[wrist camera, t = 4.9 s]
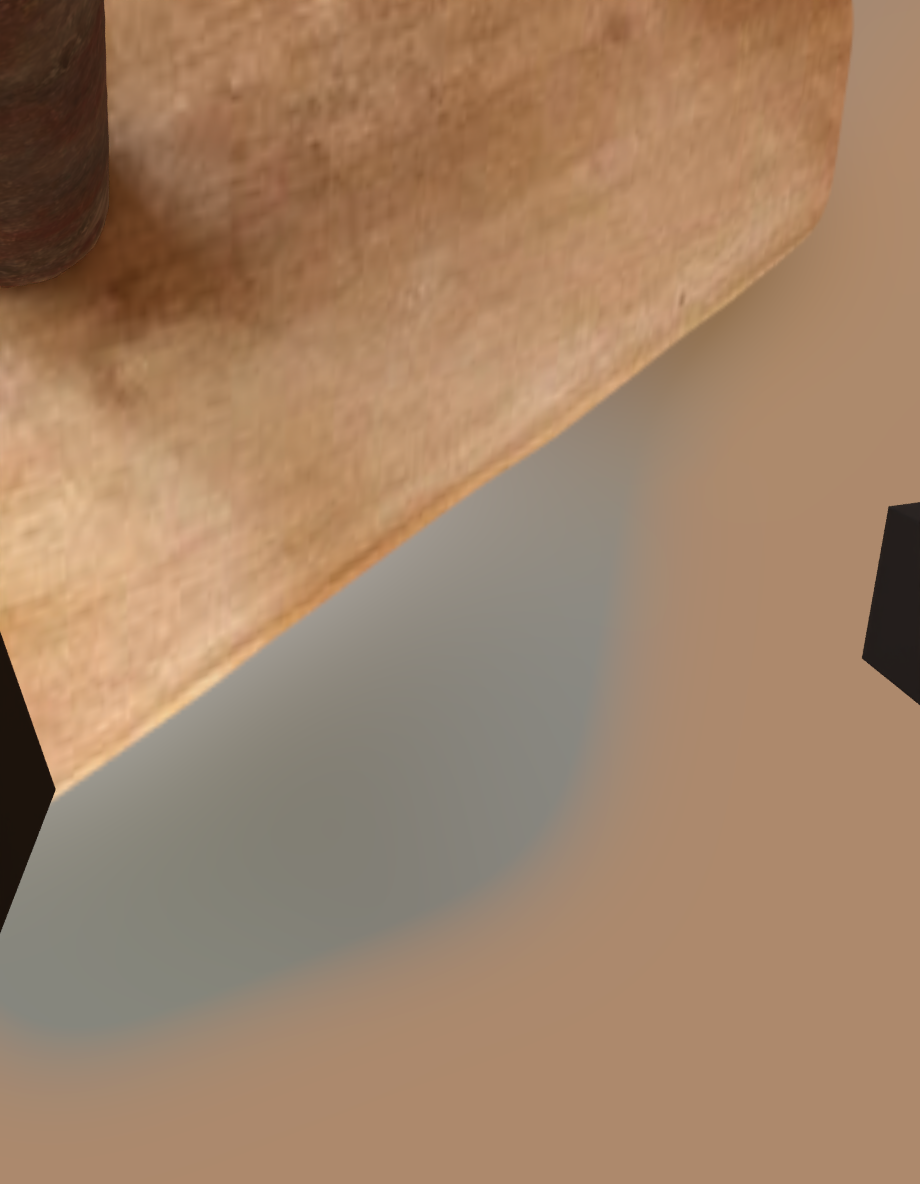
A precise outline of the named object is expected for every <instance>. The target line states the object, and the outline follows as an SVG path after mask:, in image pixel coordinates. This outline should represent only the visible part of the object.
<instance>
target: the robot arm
mask: <svg viewBox="0 0 920 1184" xmlns="http://www.w3.org/2000/svg"><path fill="white" fill-rule="evenodd" d="M862 659H863V660H865V661H866V662H867V663H868V664H870V665H871V666H872V667H873V668H874V669H876V670H877V671H878V672H880V673H881V674H882V675H883V676H884V677H886V678H887V679H888V680H889V681H891V682H892V683H893V684H895V685H896V686H897V687H898V688H899V689H901V690H902V691H903V692H904V693H905V694H907V695H908V696H909V697H910V698H912V699H913V700H914V701H915V702H917V703H918V704H919V705H920V502H918V503H911V504H903V505H897V506H889V507H888V513H887V519H886V525H885V530H884V536H883V542H882V547H881V553H880V559H879V564H878V570H877V576H876V581H875V587H874V593H873V598H872V604H871V610H870V616H869V621H868V627H867V632H866V638H865V644H864V649H863V655H862ZM55 790H56V789H55V786H54V783H53V781H52V778H51V775H50V772H49V769H48V766H47V763H46V761H45V758H44V755H43V752H42V749H41V746H40V744H39V741H38V738H37V735H36V732H35V729H34V726H33V724H32V721H31V718H30V715H29V712H28V709H27V707H26V704H25V701H24V698H23V695H22V692H21V689H20V687H19V684H18V681H17V678H16V675H15V672H14V670H13V667H12V664H11V661H10V658H9V655H8V652H7V650H6V647H5V644H4V641H3V638H2V635H1V633H0V932H1V930H2V927H3V925H4V922H5V919H6V917H7V914H8V912H9V909H10V906H11V904H12V901H13V899H14V896H15V893H16V891H17V888H18V886H19V883H20V880H21V878H22V875H23V873H24V870H25V867H26V865H27V862H28V860H29V857H30V855H31V852H32V849H33V847H34V844H35V842H36V839H37V837H38V834H39V831H40V829H41V826H42V824H43V821H44V818H45V816H46V813H47V811H48V808H49V806H50V803H51V800H52V798H53V795H54V793H55Z"/></svg>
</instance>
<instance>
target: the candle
mask: <svg viewBox="0 0 920 1184" xmlns="http://www.w3.org/2000/svg"><path fill="white" fill-rule="evenodd" d="M108 208H109V135H108V114H107V86H106V42H105V10H104V0H0V287H6V288H9V287H14V286H21V285H27V284H30V283H39V282H42V281H45V280H48V279H51V278H55V277H57V276H58V275H59V274H61V273H62V272H64V271H65V270H67V269H68V268H70V267H71V266H73V265H74V264H75V263H77V262H78V261H79V260H81V259H82V258H83V257H84V256H85V255H86V254H87V253H88V252H89V251H90V250H91V249H92V248H93V247H94V246H95V244H96V242H97V240H98V238H99V236H100V234H101V232H102V229H103V227H104V224H105V219H106V215H107V211H108Z"/></svg>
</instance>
